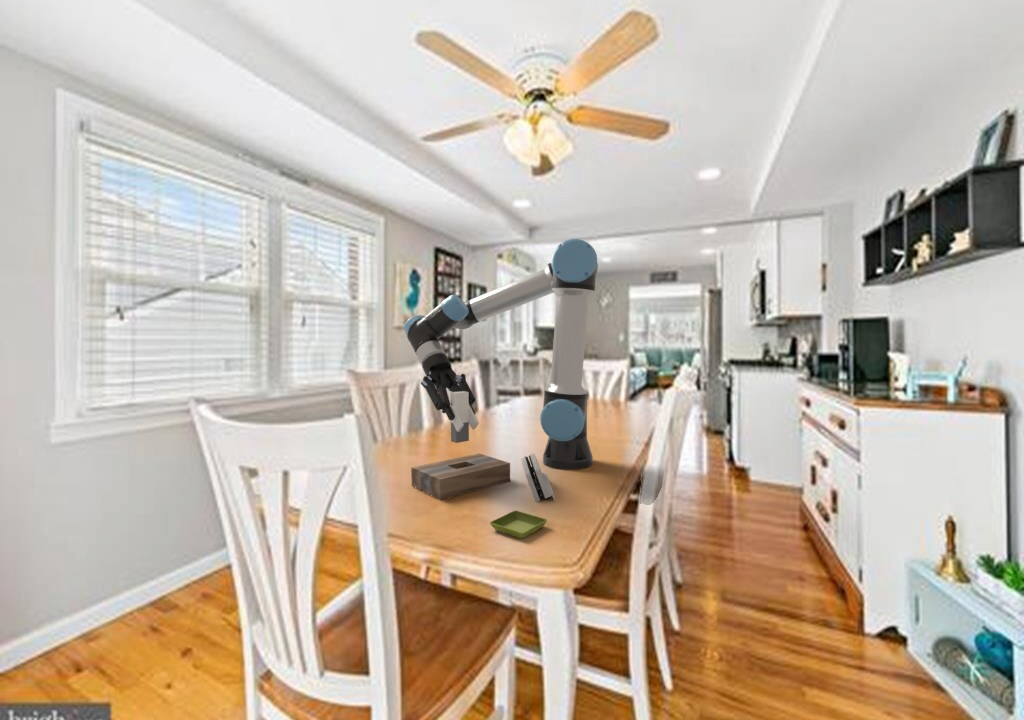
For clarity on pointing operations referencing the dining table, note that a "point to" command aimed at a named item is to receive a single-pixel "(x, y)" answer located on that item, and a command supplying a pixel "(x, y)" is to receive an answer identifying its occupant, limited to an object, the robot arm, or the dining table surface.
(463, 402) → the rail end
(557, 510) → the dining table surface
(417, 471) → the post foot
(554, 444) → the robot arm
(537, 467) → the grey curved slotted block
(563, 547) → the dining table surface
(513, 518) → the olive green shallow tray
